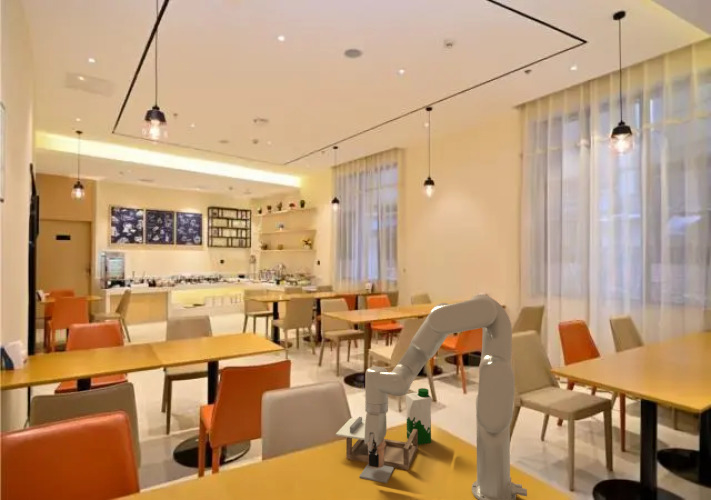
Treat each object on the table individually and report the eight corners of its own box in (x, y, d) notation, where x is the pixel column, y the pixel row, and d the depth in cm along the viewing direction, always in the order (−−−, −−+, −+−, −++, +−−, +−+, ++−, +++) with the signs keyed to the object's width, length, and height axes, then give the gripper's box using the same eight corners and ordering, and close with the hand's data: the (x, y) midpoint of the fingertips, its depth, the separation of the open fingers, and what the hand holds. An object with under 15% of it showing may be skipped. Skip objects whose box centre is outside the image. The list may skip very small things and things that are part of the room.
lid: (377, 423, 153) (377, 416, 153) (364, 440, 139) (364, 432, 139) (350, 419, 157) (350, 412, 157) (335, 435, 143) (335, 428, 143)
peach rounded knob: (387, 461, 133) (387, 439, 133) (382, 470, 127) (382, 447, 128) (370, 458, 135) (370, 437, 135) (364, 466, 130) (364, 444, 130)
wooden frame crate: (417, 451, 148) (417, 429, 148) (407, 472, 133) (407, 448, 133) (361, 441, 156) (361, 421, 156) (346, 461, 141) (346, 438, 141)
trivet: (394, 471, 134) (394, 467, 134) (386, 486, 125) (386, 481, 125) (368, 467, 137) (368, 462, 137) (359, 480, 128) (359, 475, 129)
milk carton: (434, 445, 152) (434, 392, 153) (413, 449, 150) (412, 395, 150) (424, 436, 161) (423, 385, 161) (403, 439, 158) (403, 388, 158)
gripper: (373, 396, 141) (373, 448, 141) (357, 413, 125) (356, 472, 125) (394, 399, 138) (394, 452, 138) (380, 417, 122) (379, 477, 122)
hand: (376, 461), depth 131 cm, fingers closed on peach rounded knob, 5 cm apart
